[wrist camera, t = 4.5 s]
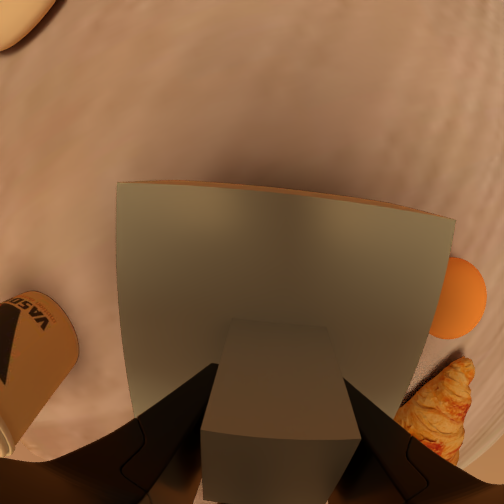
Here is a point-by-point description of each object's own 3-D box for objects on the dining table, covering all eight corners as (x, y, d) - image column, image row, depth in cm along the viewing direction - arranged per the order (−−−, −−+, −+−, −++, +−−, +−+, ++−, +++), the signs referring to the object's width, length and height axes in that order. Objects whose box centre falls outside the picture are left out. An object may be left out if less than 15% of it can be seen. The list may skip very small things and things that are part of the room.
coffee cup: (81, 293, 20) (-33, 379, 8) (94, 389, 22) (26, 482, 10) (5, 271, 20) (-93, 322, 8) (22, 358, 22) (-49, 423, 11)
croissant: (413, 327, 22) (408, 372, 16) (508, 353, 18) (530, 401, 11) (342, 477, 27) (316, 524, 20) (413, 496, 22) (399, 546, 15)
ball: (449, 318, 18) (484, 351, 13) (393, 317, 18) (423, 355, 14) (466, 252, 17) (510, 274, 12) (410, 244, 17) (450, 267, 12)
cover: (349, 380, 16) (395, 536, 6) (174, 363, 16) (101, 513, 6) (388, 202, 13) (562, 256, 3) (177, 179, 14) (1, 194, 4)
